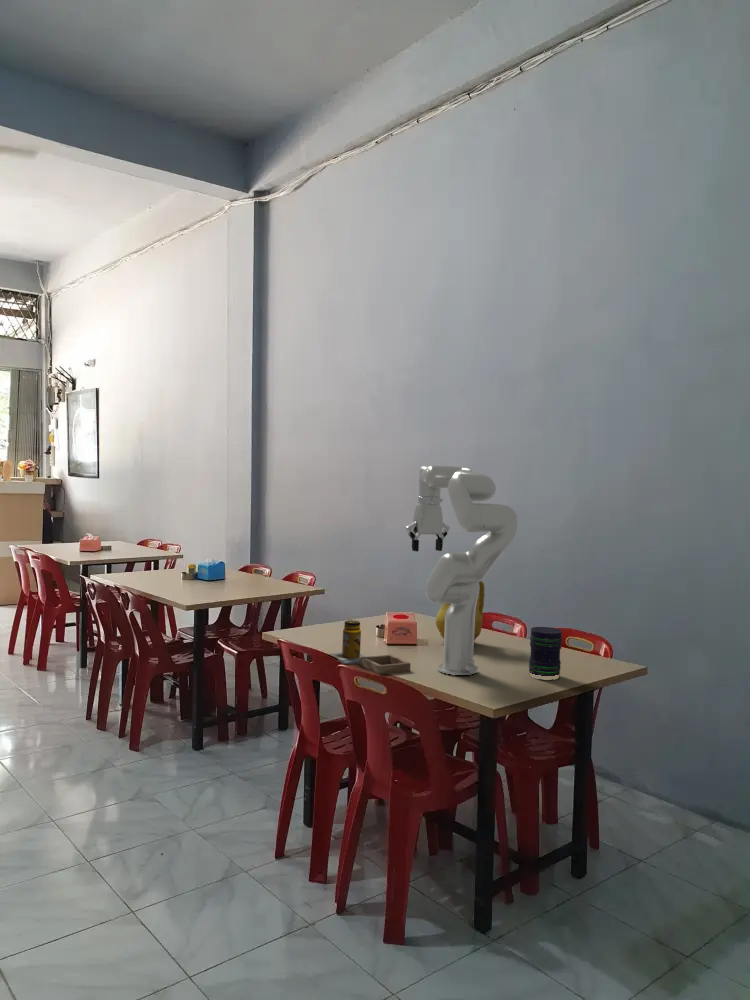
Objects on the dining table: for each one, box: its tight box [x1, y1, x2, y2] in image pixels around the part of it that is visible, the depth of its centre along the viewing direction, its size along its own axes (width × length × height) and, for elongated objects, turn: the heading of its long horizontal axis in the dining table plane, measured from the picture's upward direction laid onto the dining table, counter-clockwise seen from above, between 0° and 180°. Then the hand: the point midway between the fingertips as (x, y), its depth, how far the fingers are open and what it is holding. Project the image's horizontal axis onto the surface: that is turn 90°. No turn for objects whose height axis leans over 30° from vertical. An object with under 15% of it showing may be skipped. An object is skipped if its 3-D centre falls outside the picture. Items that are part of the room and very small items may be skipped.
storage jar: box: [528, 626, 563, 676], centre depth 246 cm, size 10×10×15 cm
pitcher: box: [435, 580, 486, 645], centre depth 288 cm, size 17×19×25 cm
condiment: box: [334, 619, 362, 660], centre depth 259 cm, size 7×8×12 cm
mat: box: [330, 652, 366, 665], centre depth 259 cm, size 13×10×1 cm
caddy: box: [360, 654, 412, 675], centre depth 249 cm, size 12×11×2 cm
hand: (427, 550), depth 269 cm, fingers open, 9 cm apart
